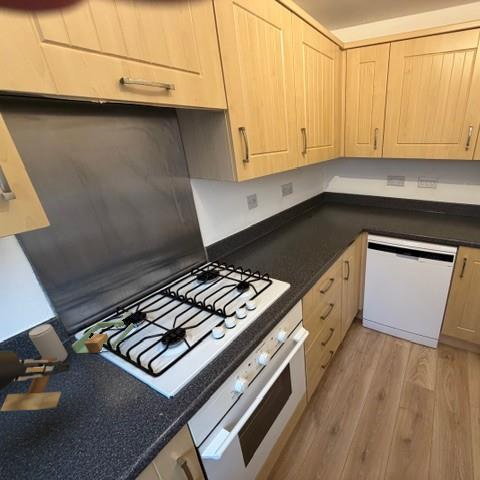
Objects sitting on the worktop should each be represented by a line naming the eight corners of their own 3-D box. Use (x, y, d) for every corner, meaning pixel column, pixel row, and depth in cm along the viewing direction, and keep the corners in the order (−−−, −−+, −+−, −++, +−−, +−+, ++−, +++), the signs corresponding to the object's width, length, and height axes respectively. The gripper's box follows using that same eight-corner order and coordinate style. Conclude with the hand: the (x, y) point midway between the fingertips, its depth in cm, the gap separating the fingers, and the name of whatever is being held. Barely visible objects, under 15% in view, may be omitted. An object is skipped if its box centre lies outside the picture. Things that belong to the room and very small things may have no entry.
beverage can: (60, 353, 81) (42, 323, 76) (73, 354, 80) (55, 324, 76) (43, 366, 77) (22, 335, 72) (56, 367, 76) (37, 336, 71)
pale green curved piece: (116, 351, 81) (112, 343, 79) (75, 353, 81) (71, 345, 80) (150, 314, 97) (147, 307, 95) (116, 316, 97) (113, 309, 96)
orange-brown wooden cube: (83, 343, 79) (94, 333, 82) (89, 353, 80) (99, 343, 84) (96, 342, 79) (106, 333, 82) (101, 352, 80) (111, 342, 84)
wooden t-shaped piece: (0, 411, 54) (23, 358, 58) (20, 408, 57) (41, 358, 62) (37, 409, 53) (58, 356, 58) (56, 407, 57) (74, 357, 61)
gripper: (16, 349, 48) (95, 348, 64) (-57, 352, 48) (40, 350, 64) (-1, 396, 45) (86, 382, 61) (-78, 399, 45) (28, 385, 61)
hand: (62, 366), depth 63 cm, fingers closed on wooden t-shaped piece, 2 cm apart
